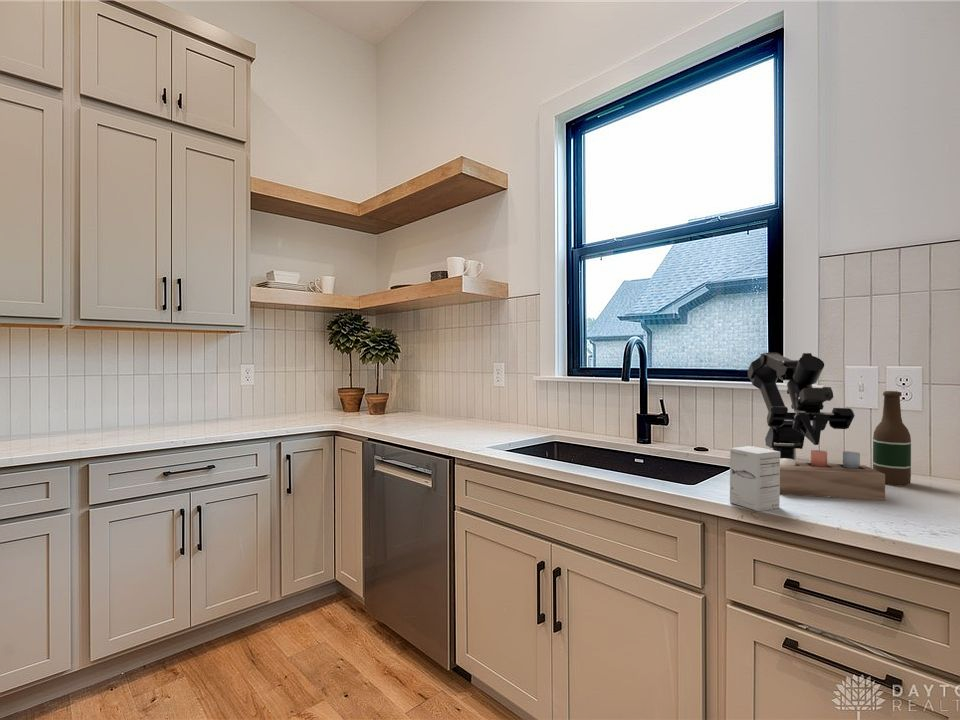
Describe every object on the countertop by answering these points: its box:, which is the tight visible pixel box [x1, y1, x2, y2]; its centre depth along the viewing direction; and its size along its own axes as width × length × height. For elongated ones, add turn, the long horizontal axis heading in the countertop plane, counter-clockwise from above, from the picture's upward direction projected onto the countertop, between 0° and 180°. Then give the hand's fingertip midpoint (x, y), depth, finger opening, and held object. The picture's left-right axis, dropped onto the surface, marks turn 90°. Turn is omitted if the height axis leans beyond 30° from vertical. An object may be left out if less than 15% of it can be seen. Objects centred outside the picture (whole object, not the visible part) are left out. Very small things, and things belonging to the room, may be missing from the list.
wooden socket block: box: [780, 461, 886, 501], centre depth 126 cm, size 10×22×6 cm, turn 75°
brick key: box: [810, 449, 828, 467], centre depth 128 cm, size 3×3×4 cm
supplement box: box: [729, 445, 781, 512], centre depth 115 cm, size 7×7×13 cm
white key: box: [780, 458, 796, 466], centre depth 130 cm, size 3×3×4 cm
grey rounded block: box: [842, 451, 861, 469], centre depth 126 cm, size 3×3×4 cm
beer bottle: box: [872, 390, 912, 487], centre depth 135 cm, size 8×8×24 cm
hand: (816, 444), depth 128 cm, fingers closed
